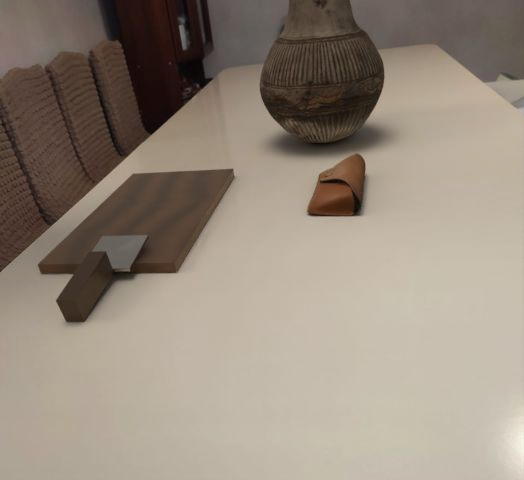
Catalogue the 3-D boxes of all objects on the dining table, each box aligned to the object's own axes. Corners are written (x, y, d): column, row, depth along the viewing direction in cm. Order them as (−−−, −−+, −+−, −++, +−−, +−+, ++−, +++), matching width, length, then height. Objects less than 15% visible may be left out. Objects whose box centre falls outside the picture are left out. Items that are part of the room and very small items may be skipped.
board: (40, 273, 74) (37, 264, 74) (134, 181, 103) (132, 173, 102) (176, 272, 71) (174, 262, 70) (234, 176, 99) (233, 168, 99)
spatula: (102, 321, 62) (92, 300, 60) (48, 321, 64) (37, 300, 62) (149, 237, 75) (142, 217, 73) (103, 238, 76) (95, 219, 74)
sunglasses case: (316, 173, 95) (335, 138, 90) (351, 191, 95) (371, 158, 91) (304, 213, 81) (326, 175, 76) (345, 235, 81) (368, 198, 77)
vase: (286, 125, 125) (275, -31, 108) (391, 124, 117) (398, -45, 99) (248, 159, 107) (227, -21, 90) (370, 160, 99) (373, -38, 81)
